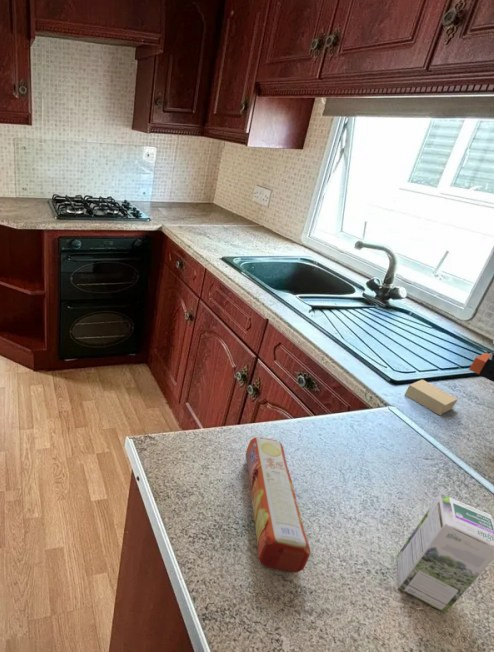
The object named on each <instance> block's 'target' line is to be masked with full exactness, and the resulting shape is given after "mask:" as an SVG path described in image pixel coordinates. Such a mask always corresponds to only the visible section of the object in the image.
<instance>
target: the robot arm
mask: <svg viewBox="0 0 494 652" xmlns="http://www.w3.org/2000/svg"><path fill="white" fill-rule="evenodd" d="M492 344H493V345H494V340H493V341H492ZM478 375H479V376H480V377H482V378H484V379H486V380H489V381H491V382H492V383H494V350H493V351H492V352H491V354H490V357H489V358H488V360H487V361H486V363H485V365H484V366H483V368H482V370H481V371H480V373H479V374H478Z"/></svg>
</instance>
